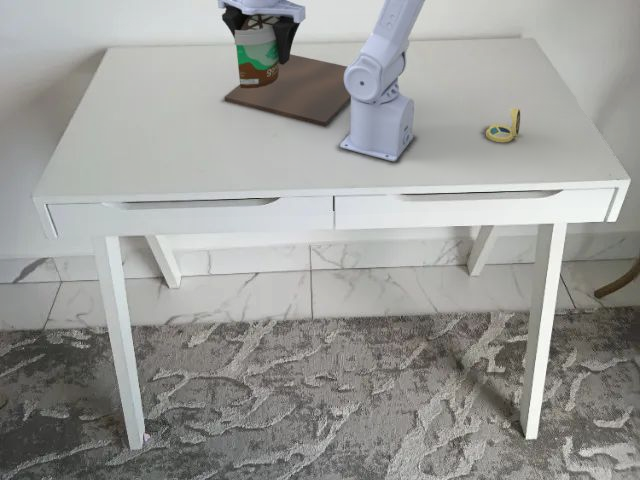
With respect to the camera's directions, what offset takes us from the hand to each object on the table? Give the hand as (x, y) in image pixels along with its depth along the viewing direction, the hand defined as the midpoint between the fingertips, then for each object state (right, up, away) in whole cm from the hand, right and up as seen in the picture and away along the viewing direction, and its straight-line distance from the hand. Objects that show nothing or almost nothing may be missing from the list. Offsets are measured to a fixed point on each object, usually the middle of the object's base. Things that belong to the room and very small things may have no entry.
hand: (264, 57), depth 106 cm
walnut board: (+6, -2, +14) cm, 15 cm away
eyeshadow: (+38, -13, +1) cm, 41 cm away
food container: (0, -3, +2) cm, 4 cm away
